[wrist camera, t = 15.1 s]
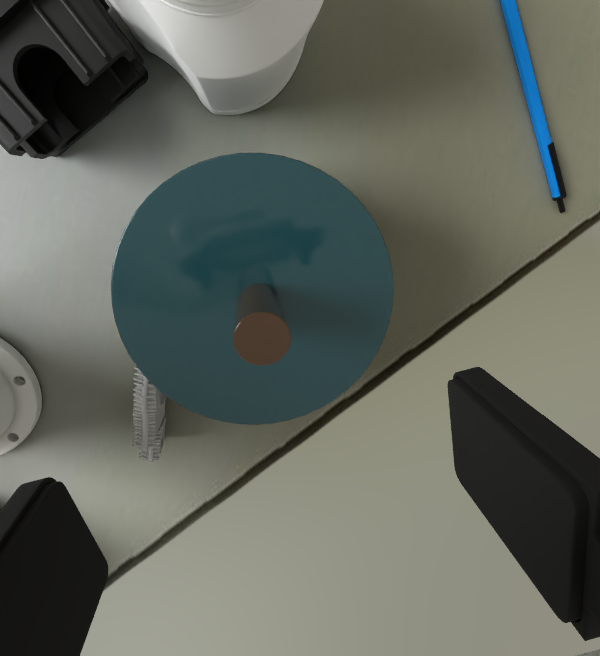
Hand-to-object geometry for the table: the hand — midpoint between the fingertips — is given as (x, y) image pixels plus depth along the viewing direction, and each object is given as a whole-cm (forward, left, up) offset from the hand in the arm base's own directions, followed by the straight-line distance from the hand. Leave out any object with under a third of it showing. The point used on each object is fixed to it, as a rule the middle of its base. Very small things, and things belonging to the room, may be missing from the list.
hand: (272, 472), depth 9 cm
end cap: (-9, +16, -24) cm, 31 cm away
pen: (+24, +8, -25) cm, 35 cm away
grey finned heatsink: (-11, -8, -24) cm, 28 cm away
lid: (0, 0, -15) cm, 15 cm away
